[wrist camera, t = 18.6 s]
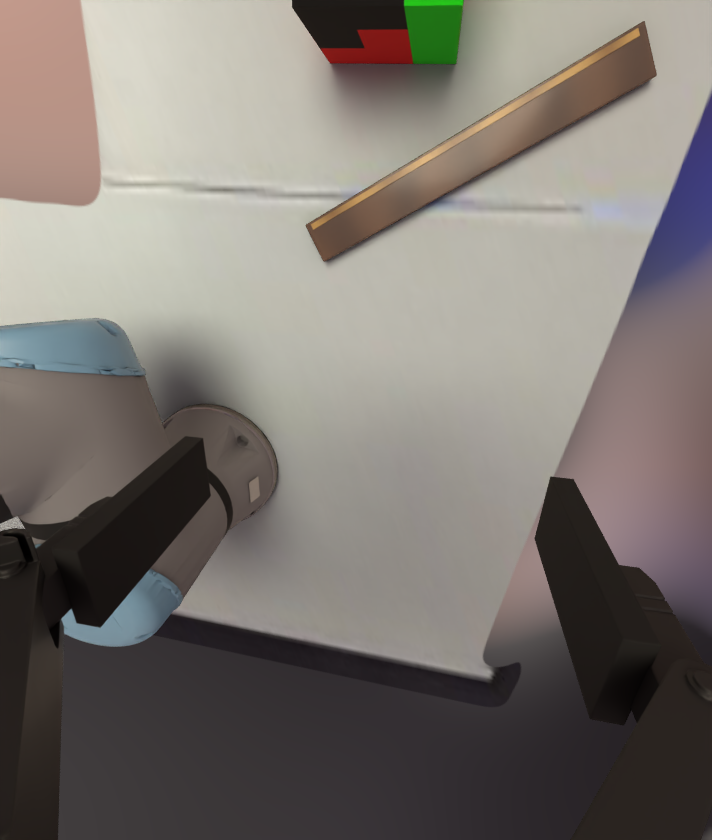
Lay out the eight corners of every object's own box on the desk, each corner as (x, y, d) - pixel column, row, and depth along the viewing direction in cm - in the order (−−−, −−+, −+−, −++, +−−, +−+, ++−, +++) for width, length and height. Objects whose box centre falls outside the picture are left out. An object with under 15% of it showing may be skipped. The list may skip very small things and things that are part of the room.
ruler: (326, 260, 41) (323, 262, 40) (308, 224, 40) (304, 225, 39) (649, 80, 32) (657, 74, 31) (637, 27, 31) (645, 19, 30)
